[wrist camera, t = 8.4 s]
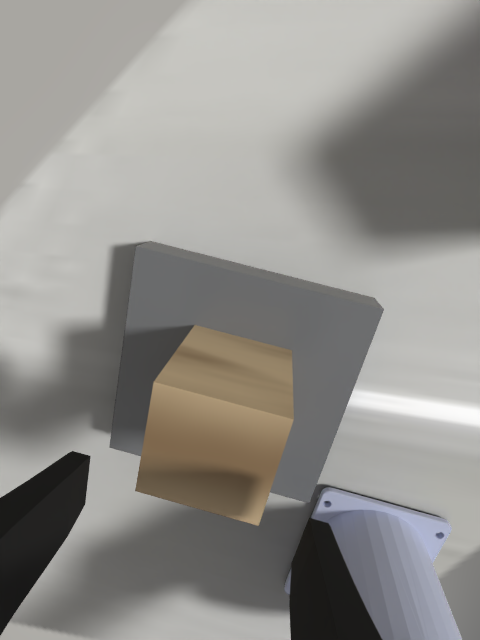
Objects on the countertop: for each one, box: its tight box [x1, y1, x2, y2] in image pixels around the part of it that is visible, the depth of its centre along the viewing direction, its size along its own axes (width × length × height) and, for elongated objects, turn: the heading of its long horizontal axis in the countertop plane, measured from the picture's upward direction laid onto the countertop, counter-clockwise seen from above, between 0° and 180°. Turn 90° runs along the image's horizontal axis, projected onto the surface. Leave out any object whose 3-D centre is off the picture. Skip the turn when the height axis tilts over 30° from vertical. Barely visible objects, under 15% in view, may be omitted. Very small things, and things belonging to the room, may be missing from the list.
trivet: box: [110, 241, 384, 503], centre depth 20 cm, size 12×12×2 cm
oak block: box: [135, 325, 294, 526], centre depth 16 cm, size 5×5×6 cm
